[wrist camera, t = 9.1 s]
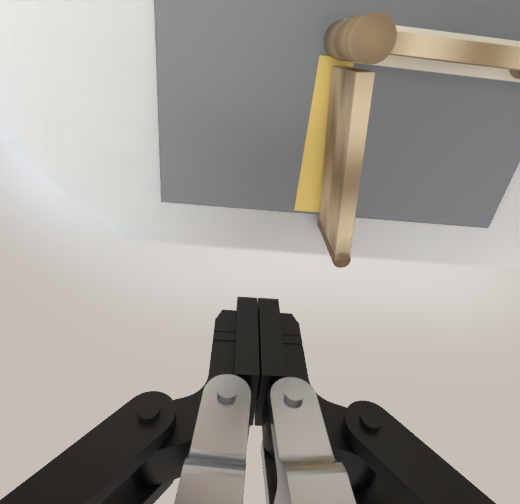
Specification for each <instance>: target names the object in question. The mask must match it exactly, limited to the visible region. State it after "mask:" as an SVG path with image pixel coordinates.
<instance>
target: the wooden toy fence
mask: <svg viewBox="0 0 520 504" xmlns="http://www.w3.org/2000/svg"><path fill="white" fill-rule="evenodd" d="M324 48H325V51H326V52H327V54H328V55H329V56H331V57H332V58H335V59H340V60H346V61H352V62H358V63H364V64H377V63H379V62H381V61H383V60H384V59H386V58H387V57H388V56H389V55H394V56H402V57H410V58H419V59H427V60H435V61H443V62H451V63H460V64H468V65H476V66H484V67H493V68H501V69H509V72H510V74H511V76H512V77H514V78H516V79H520V47H516V46H508V45H500V44H492V43H484V42H476V41H469V40H461V39H453V38H445V37H437V36H430V35H422V34H414V33H406V32H398V31H397V30H396V26H395V23H394V21H393V20H392V18H391V17H390V16H389V15H387V14H385V13H382V12H374V13H369V14H365V15H361V16H357V17H352V18H348V19H344V20H339V21H336V22H334V23H333V24H331V25H330V26H329V28H328V29H327V31H326V33H325V35H324Z"/></svg>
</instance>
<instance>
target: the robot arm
mask: <svg viewBox="0 0 520 504" xmlns="http://www.w3.org/2000/svg"><path fill="white" fill-rule="evenodd" d="M254 412H255V425H257V426H258V425H260V426H262V429H263V430H262V432H263V440H262V447H261V455H262V465H263V474H264V484H265V494H266V503H267V504H495V503H494V502H493V501H492V500H491V499H490V498H488V497H487V496H486V495H485V494H484V493H482V492H481V491H480V490H479V489H478V488H477V487H475V486H474V485H473V484H472V483H471V482H469V481H468V480H467V479H466V478H465V477H464V476H462V475H461V474H460V473H459V472H458V471H456V470H455V469H454V468H453V467H452V466H451V465H449V464H448V463H447V462H446V461H445V460H443V459H442V458H441V457H440V456H439V455H438V454H436V453H435V452H434V451H433V450H432V449H430V448H429V447H428V446H427V445H425V444H424V443H423V442H422V441H421V440H420V439H419V438H417V437H416V436H415V435H414V434H413V433H412V432H410V431H409V430H408V429H407V428H406V427H404V426H403V425H402V424H401V423H400V422H398V421H397V420H396V419H395V418H394V417H393V416H391V415H390V414H389V413H388V412H387V411H385V410H384V409H383V408H382V407H380V406H379V405H377V404H375V403H372V402H369V401H356V402H354V403H352V404H350V406H348V408H346V407H343V406H340V405H337V404H333V403H331V402H329V401H326V400H325V399H323V398H321V397H320V396H319V395H317V393H316V392H315V391H314V389H313V388H312V386H311V385H310V383H309V380H308V374H307V368H306V363H305V357H304V351H303V346H302V339H301V334H300V328H299V323H298V322H297V321H296V320H295V318H294V317H293V315H292V314H286V313H280V311H279V302H278V299H267V298H258V304H257V298H248V297H238V299H237V311H232V310H222V311H221V313H220V314H219V315H218V317H217V318H216V320H215V329H214V336H213V344H212V352H211V361H210V369H209V376H208V380H207V382H206V383H205V385H204V386H203V388H201V389H200V390H199V391H198V392H196V393H195V394H193V395H190V396H187V397H184V398H180V399H176V400H172V399H171V398H170V397H169V396H168V395H166V394H164V393H162V392H156V391H151V392H145V393H142V394H140V395H138V396H136V397H134V398H133V399H132V400H130V401H129V402H128V403H126V404H125V405H124V406H122V407H121V408H120V409H118V410H117V411H116V412H115V413H113V414H112V415H111V416H109V417H108V418H107V419H105V420H104V421H103V422H102V423H100V424H99V425H98V426H97V427H95V428H94V429H93V430H91V431H90V432H89V433H87V434H86V435H85V436H83V437H82V438H81V439H80V440H78V441H77V442H76V443H74V444H73V445H72V446H70V447H69V448H68V449H66V450H65V451H64V452H62V453H61V454H60V455H59V456H57V457H56V458H55V459H53V460H52V461H51V462H49V463H48V464H47V465H46V466H44V467H43V468H42V469H40V470H39V471H38V472H37V473H35V474H34V475H33V476H31V477H30V478H29V479H27V480H26V481H25V482H23V483H22V484H21V485H20V486H18V487H17V488H16V489H15V490H13V491H12V492H10V493H9V494H8V495H6V496H5V497H4V498H3V499H1V500H0V504H153V503H154V502H155V501H156V500H157V499H158V498H159V497H160V496H161V495H162V494H163V493H164V492H165V491H166V490H167V488H168V487H169V486H170V485H171V484H172V483H173V481H174V479H176V478H179V477H180V481H179V485H178V490H177V494H176V499H175V503H174V504H243V494H244V482H245V469H246V463H245V462H246V449H247V441H248V434H249V426H250V425H253V419H254Z"/></svg>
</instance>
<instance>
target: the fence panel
mask: <svg viewBox="0 0 520 504" xmlns="http://www.w3.org/2000/svg"><path fill="white" fill-rule="evenodd" d="M374 76H375V72H372V71H367V70H363V69H358V68H354V67H349V66H332V70H331V82H330V94H329V106H328V118H327V130H326V142H325V154H324V166H323V178H322V190H321V202H320V214H319V220H318V227H319V229H320V231H321V234H322V236H323V239H324V241H325V244H326V246H327V249H328V251H329V253H330V256H331V258H332V261H333V263H334V265H335V266H337V267H345V266H347V265H348V264H349V262H350V249H351V242H352V235H353V228H354V220H355V213H356V206H357V199H358V192H359V184H360V177H361V170H362V163H363V155H364V148H365V141H366V134H367V127H368V119H369V112H370V105H371V98H372V91H373V83H374Z"/></svg>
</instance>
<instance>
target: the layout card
mask: <svg viewBox="0 0 520 504" xmlns="http://www.w3.org/2000/svg"><path fill="white" fill-rule="evenodd" d="M154 12H155V40H156V67H157V95H158V123H159V150H160V178H161V202H170V203H183V204H195V205H208V206H220V207H233V208H245V209H258V210H270V211H283V212H295V213H308V214H320V202H321V190H322V178H323V166H324V154H325V142H326V130H327V118H328V106H329V94H330V82H331V70H332V66H349V67H354V68H358V69H363V70H367V71H372V72H375V76H374V83H373V91H372V98H371V105H370V112H369V119H368V127H367V134H366V141H365V148H364V155H363V163H362V170H361V177H360V184H359V192H358V199H357V206H356V213H355V217H358V218H370V219H383V220H395V221H408V222H420V223H433V224H445V225H458V226H470V227H483V228H488V227H489V225H490V223H491V221H492V219H493V217H494V214H495V212H496V210H497V208H498V206H499V204H500V202H501V200H502V197H503V195H504V193H505V191H506V189H507V187H508V185H509V183H510V180H511V178H512V176H513V174H514V172H515V170H516V168H517V166H518V163H519V161H520V79H516V78H514V77H512V76H511V74H510V72H509V69H501V68H493V67H484V66H476V65H468V64H460V63H451V62H443V61H435V60H427V59H419V58H410V57H402V56H394V55H389V56H388V57H387V58H386V59H384V60H383V61H381V62H379V63H377V64H364V63H358V62H352V61H346V60H340V59H335V58H332V57H331V56H329V55H328V54H327V52H326V51H325V48H324V35H325V33H326V31H327V29H328V28H329V26H330V25H331V24H333V23H334V22H336V21H339V20H344V19H348V18H352V17H357V16H361V15H365V14H369V13H374V12H382V13H385V14H387V15H389V16H390V17H391V18H392V20H393V21H394V23H395V26H396V30H397V31H398V32H406V33H414V34H422V35H430V36H437V37H445V38H453V39H461V40H469V41H476V42H484V43H492V44H500V45H508V46H516V47H520V0H154Z"/></svg>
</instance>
